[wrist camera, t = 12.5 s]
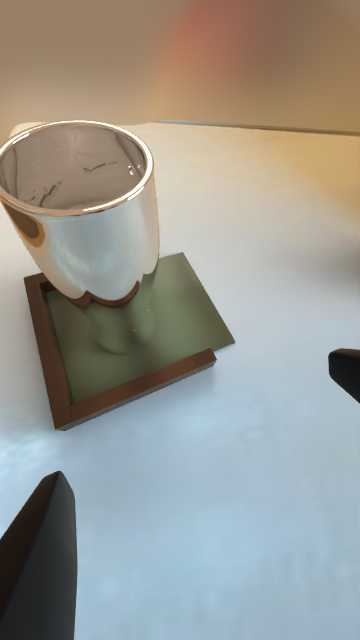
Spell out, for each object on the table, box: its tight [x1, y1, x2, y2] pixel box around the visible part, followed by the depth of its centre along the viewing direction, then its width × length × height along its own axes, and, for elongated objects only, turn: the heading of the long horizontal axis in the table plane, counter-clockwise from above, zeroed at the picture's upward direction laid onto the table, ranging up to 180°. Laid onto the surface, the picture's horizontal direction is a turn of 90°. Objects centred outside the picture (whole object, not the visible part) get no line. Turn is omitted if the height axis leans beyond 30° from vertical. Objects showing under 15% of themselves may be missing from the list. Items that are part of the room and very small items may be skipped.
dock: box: [24, 252, 235, 431], centre depth 23 cm, size 16×14×2 cm
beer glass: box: [0, 120, 160, 354], centre depth 17 cm, size 7×7×15 cm
